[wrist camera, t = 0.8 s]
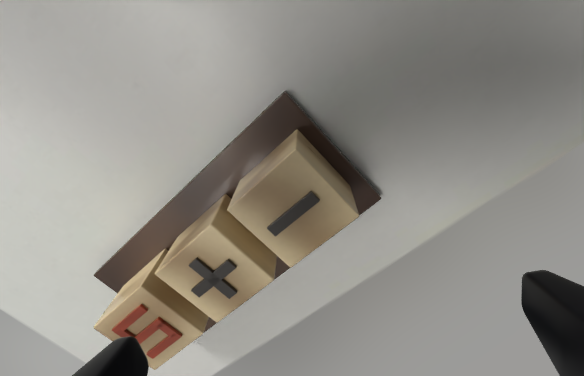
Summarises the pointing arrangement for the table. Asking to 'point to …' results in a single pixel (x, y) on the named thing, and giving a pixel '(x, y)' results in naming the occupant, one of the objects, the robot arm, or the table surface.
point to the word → (248, 214)
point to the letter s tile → (153, 315)
